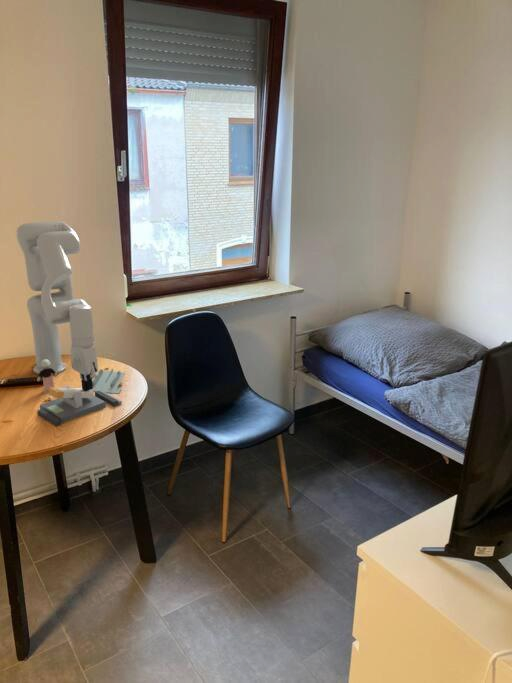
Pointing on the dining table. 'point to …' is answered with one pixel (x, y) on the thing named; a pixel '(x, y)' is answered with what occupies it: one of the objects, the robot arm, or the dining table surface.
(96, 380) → the metal bracket
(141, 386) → the dining table surface
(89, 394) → the rocker lever
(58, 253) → the robot arm
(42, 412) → the pair of grey rails
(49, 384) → the grandmother figurine
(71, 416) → the panel
